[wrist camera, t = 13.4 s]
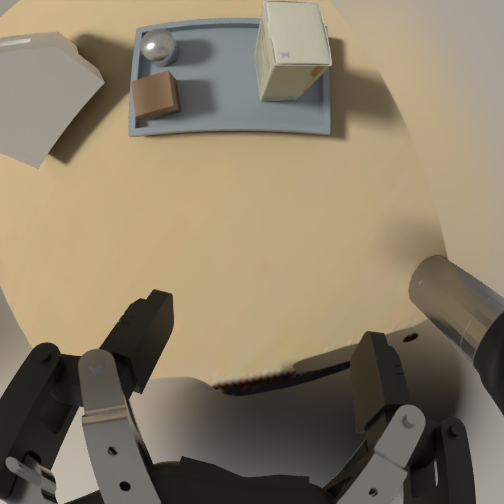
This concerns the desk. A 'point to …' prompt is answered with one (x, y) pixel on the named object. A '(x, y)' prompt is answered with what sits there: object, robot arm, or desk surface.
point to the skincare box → (290, 49)
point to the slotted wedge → (40, 92)
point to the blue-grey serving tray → (224, 84)
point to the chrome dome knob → (159, 47)
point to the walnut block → (155, 96)
